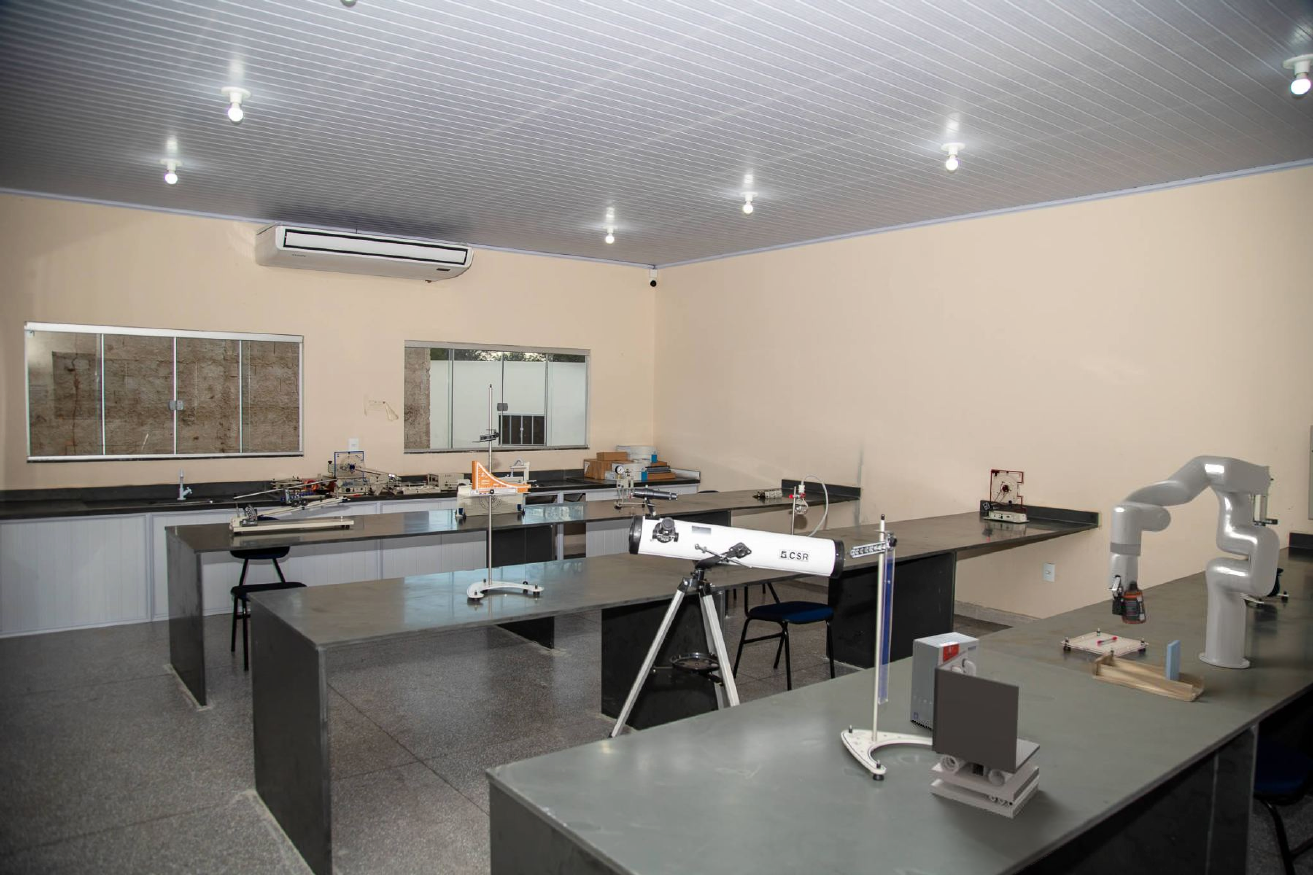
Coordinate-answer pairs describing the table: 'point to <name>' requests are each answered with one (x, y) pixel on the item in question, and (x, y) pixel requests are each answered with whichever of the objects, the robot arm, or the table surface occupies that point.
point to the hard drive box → (923, 668)
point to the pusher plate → (1173, 661)
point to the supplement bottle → (1134, 605)
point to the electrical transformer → (980, 740)
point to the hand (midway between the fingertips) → (1122, 612)
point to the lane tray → (1146, 678)
